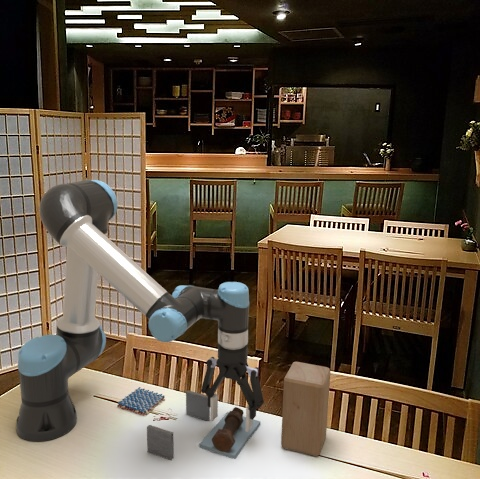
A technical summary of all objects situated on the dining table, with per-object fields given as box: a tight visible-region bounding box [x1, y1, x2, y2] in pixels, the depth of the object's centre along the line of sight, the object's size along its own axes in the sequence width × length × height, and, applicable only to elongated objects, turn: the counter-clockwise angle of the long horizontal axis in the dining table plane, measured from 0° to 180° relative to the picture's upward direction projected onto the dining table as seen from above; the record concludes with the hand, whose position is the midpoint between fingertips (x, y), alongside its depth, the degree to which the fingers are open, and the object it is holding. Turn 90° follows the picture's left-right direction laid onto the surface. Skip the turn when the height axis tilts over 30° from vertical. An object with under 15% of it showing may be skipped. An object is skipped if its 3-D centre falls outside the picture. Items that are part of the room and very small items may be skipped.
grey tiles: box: [146, 389, 210, 461], centre depth 130 cm, size 7×19×7 cm, turn 155°
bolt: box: [212, 406, 245, 452], centre depth 129 cm, size 6×5×15 cm
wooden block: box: [280, 361, 331, 457], centre depth 126 cm, size 10×10×20 cm
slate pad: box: [198, 411, 261, 460], centre depth 130 cm, size 10×16×1 cm, turn 155°
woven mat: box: [116, 386, 166, 417], centre depth 145 cm, size 10×11×2 cm
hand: (231, 423), depth 130 cm, fingers open, 9 cm apart
